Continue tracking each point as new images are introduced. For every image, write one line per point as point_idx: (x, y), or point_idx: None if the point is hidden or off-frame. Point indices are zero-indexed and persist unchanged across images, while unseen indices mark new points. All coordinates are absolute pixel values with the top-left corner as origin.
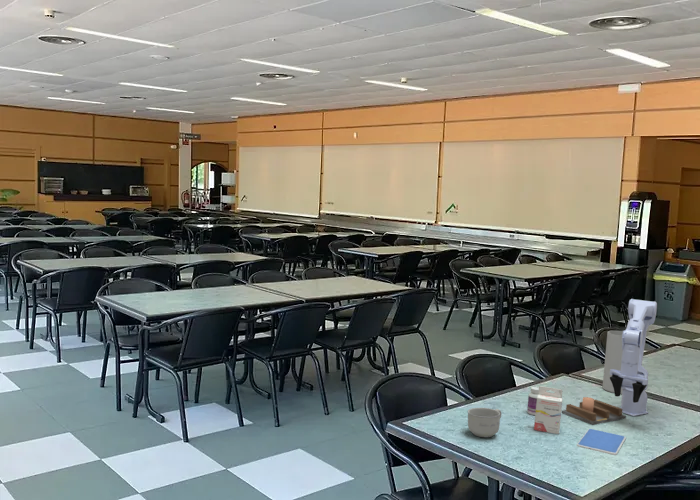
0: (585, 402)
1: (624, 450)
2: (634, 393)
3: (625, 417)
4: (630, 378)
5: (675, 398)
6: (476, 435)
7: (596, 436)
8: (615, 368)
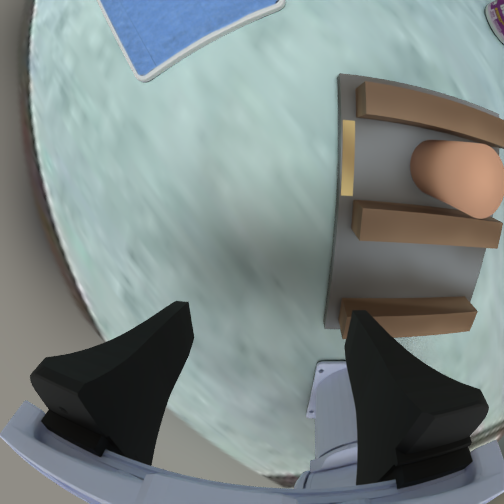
0: (470, 142)
1: (87, 10)
2: (138, 337)
3: (324, 322)
4: (101, 473)
5: None
6: None
7: None
8: None
